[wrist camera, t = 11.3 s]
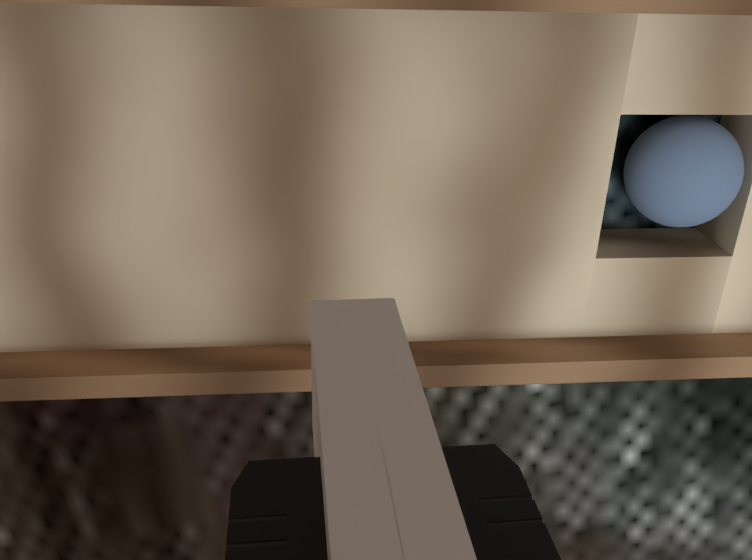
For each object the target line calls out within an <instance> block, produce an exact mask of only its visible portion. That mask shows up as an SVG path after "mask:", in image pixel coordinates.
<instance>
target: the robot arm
mask: <svg viewBox="0 0 752 560" xmlns="http://www.w3.org/2000/svg"><path fill="white" fill-rule="evenodd" d="M310 316H311V369H312V422H313V441H314V456H315V457H308V458H291V459H274V460H258V461H249V462H248V463H247V465H246V466H245V468H244V469H243V471H242V472H241V474H240V475H239V477H238V478H237V480H236V481H235V483H234V485H233V486H232V488H231V499H230V510H229V524H228V532H227V543H226V544H227V548H226V554H225V560H561V559H560V556H559V554H558V552H557V550H556V548H555V545H554V543H553V541H552V539H551V537H550V534H549V532H548V530H547V528H546V525H545V524H543V523H542V517H541V514H540V512H539V510H538V508H537V506H536V503H535V501H534V500H532V497H531V492H530V490H529V488H528V486H527V483H526V481H525V479H524V477H523V475H522V472H521V470H520V468H519V466H518V465H516V464H515V463H514V462H513V461H512V460H511V459H510V458H509V457H508V456H507V455H506V454H505V453H504V452H502V451H501V450H500V449H499V448H498V447H497V446H496V445H495V444H486V445H470V446H453V447H441V445H440V441H439V438H438V435H437V432H436V429H435V426H434V422H433V419H432V416H431V413H430V410H429V407H428V403H427V400H426V397H425V394H424V391H423V388H422V384H421V381H420V378H419V375H418V372H417V369H416V365H415V362H414V359H413V356H412V353H411V350H410V347H409V343H408V340H407V337H406V334H405V331H404V328H403V324H402V321H401V318H400V315H399V312H398V309H397V305H396V302H395V299H394V298H375V299H346V300H316V301H310Z"/></svg>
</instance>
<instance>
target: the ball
mask: <svg viewBox="0 0 752 560" xmlns="http://www.w3.org/2000/svg"><path fill="white" fill-rule="evenodd" d="M623 177H624V185H625V189H626V192H627V195H628V197H629V199H630V201H631V202H632V204H633V205H634V206H635V207H636V209H637V210H638V211H639V212H640V213H642V214H643V215H644V216H645V217H647V218H648V219H650V220H652V221H654V222H656V223H659V224H662V225H665V226H670V227H691V226H696V225H699V224H703V223H705V222H707V221H710V220H712V219H713V218H715V217H717V216H718V215H719V214H721V213H722V212H723V211H724V210H726V209H727V208H728V207H729V206H730V204H731V203H732V202H733V200H734V199H735V198H736V196H737V194H738V192H739V190H740V188H741V185H742V181H743V177H744V159H743V155H742V151H741V149H740V146H739V144H738V143H737V141H736V139H735V138H734V137H733V135H732V134H731V133H730V132H729V131H728V130H727V129H726V128H724V127H723V126H722V125H720V124H718V123H717V122H715V121H712V120H710V119H707V118H704V117H700V116H694V115H681V116H675V117H670V118H667V119H664V120H661V121H659V122H657V123H655V124H654V125H652V126H651V127H649V128H648V129H646V130H645V131H644V132H643V133H642V134H641V135H640V136H639V137H638V138H637V139H636V140H635V142H634V143H633V144H632V146H631V148H630V150H629V152H628V154H627V157H626V160H625V164H624V171H623Z"/></svg>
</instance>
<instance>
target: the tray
mask: <svg viewBox="0 0 752 560" xmlns="http://www.w3.org/2000/svg"><path fill="white" fill-rule="evenodd" d="M621 114H630V115H721V119H720V123H719V124H720V125H722V126H723V127H724V128H726V129H727V130H728V131H729V132H730V133H731V134H732V135H733V137H734V138H735V139H736V141H737V143H738V144H739V146H740V149H741V151H742V155H743V159H744V177H743V181H742V185H741V188H740V190H739V192H738V194H737V196H736V198H735V199H734V200H733V202H732V203H731V204H730V206H729V207H728V208H727V209H726V210H724V211H723V212H722V213H721V214H719V215H718V216H717V217H715V218H713V219H712V220H710V221H707V222H705V223H703V224H699V225H696V226H695V228H630V229H601V225H602V219H603V213H604V208H605V202H606V196H607V190H608V185H609V179H610V173H611V168H612V162H613V156H614V151H615V145H616V139H617V133H618V128H619V122H620V116H621ZM375 298H394V299H395V302H396V305H397V309H398V312H399V315H400V318H401V321H402V324H403V328H404V331H405V334H406V337H407V340H408V343H409V347H410V350H411V353H412V356H413V359H414V362H415V365H416V369H417V372H418V375H419V378H420V381H421V384H422V388H429V387H460V386H491V385H521V384H552V383H583V382H614V381H644V380H675V379H706V378H737V377H752V0H0V401H29V400H60V399H91V398H121V397H152V396H183V395H214V394H244V393H275V392H306V391H312V369H311V316H310V301H316V300H346V299H375Z"/></svg>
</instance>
